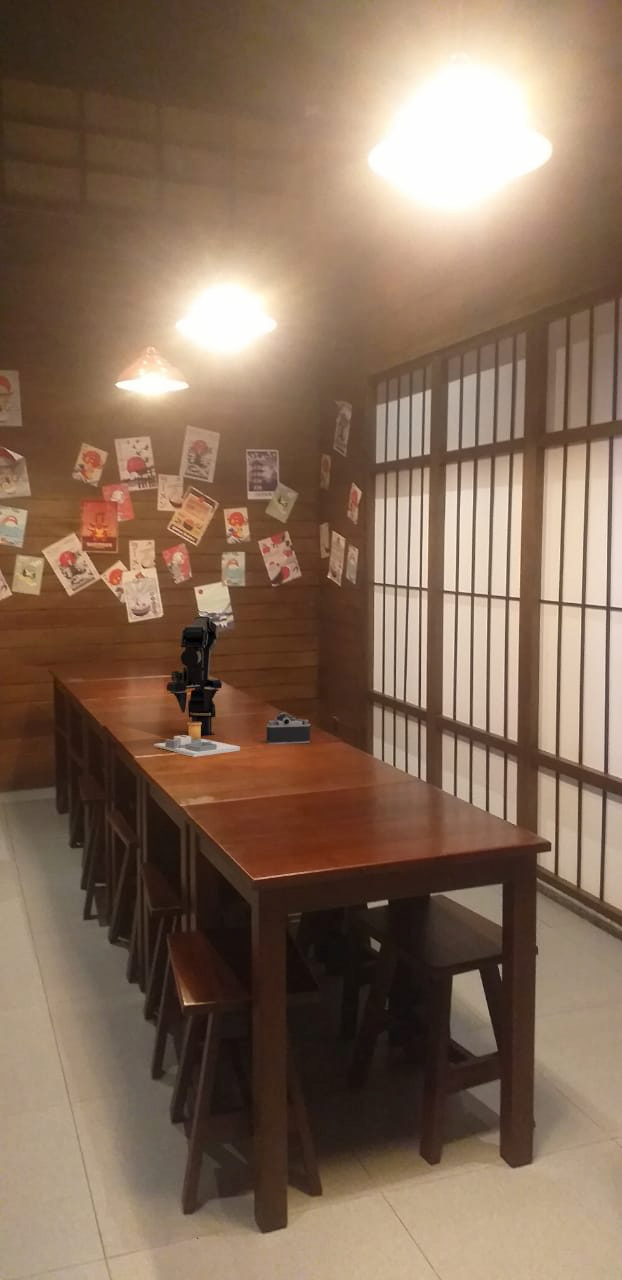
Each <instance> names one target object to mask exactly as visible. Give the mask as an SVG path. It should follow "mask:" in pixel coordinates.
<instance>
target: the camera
mask: <svg viewBox="0 0 622 1280" xmlns="http://www.w3.org/2000/svg"><path fill="white" fill-rule="evenodd" d="M264 730H266V743H267V744H268V745H281V744H282V745H284V744H285V745H289V744H308V743H309V744H310V742H311V723H309V720H308V719H303V718H297V719H296V717H295V718H293V717H292V716H291V715H290V714H288V713H287V712H282V713H280V714H278V715H277V716H275V720H268V724H267V725H266V727H265V728H264Z"/></svg>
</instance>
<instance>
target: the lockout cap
mask: <svg viewBox="0 0 622 1280" xmlns="http://www.w3.org/2000/svg"><path fill="white" fill-rule="evenodd" d="M201 725H202V722H191V721H188V722H187V726H188V736H190V737H191V740H198V739H202V738H201V737H202V736H201Z"/></svg>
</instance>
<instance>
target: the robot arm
mask: <svg viewBox="0 0 622 1280" xmlns="http://www.w3.org/2000/svg"><path fill="white" fill-rule="evenodd" d="M218 630H219V629H218V626H217V624H216V622H215V623H214V621H212V620H211V617H209V616H206V615H205V616H199V615H198V616H196V617H195V619H194V622H193V623H192V624H191V625H186V626H185V627H184V629H182V633H181V643H180V648H184V651H182V653H181V655H180V661H181V664H182V665H184V667H183V668H182V670H183V671H182V672H180V671H179V670H175V671H171V675H170V677H171V681H168V682H167V685H166V691H168V692H170V694H173V695H174V696H175V698H176V701H177V703H178V705H179V708H180V710H181V711H180V712H181V713H183V714H184V713H185V712H186V709H187V708H188V710H187V711H188V712H187V713H188V718H191V721H190V722H202V725H201V737H203V736H209V735H215V732H213V729H212V725H213V724H212V719H213V718H216V716H217V715H216V714H217V711H216V704H215V702H214V700H213V699H214V697H215V695H216V694H217V692H219V690H220V689H222V688H223V686H222V685H223V684H222V682H221V681H222V680H220V679H216V678H210V670H211V669H210V667H211V666H210V665H211V653H212V651H213V650H214V649H215V647H216V646H217V645H216V643H217V640H218V639H219V631H218ZM187 689H189V690H190V689H192V690H191V691H190V696H189V697H190V698H189V700H188V704H187V697H188V692H186V690H187ZM186 706H187V707H186Z"/></svg>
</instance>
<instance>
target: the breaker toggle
mask: <svg viewBox="0 0 622 1280" xmlns="http://www.w3.org/2000/svg"><path fill="white" fill-rule="evenodd" d="M173 740H176V741H177V747H178V746H179V745H186V744H190V743H191V737H190V736H189V735H185V734H182V735H181V734H179V735H174V736H173Z"/></svg>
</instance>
